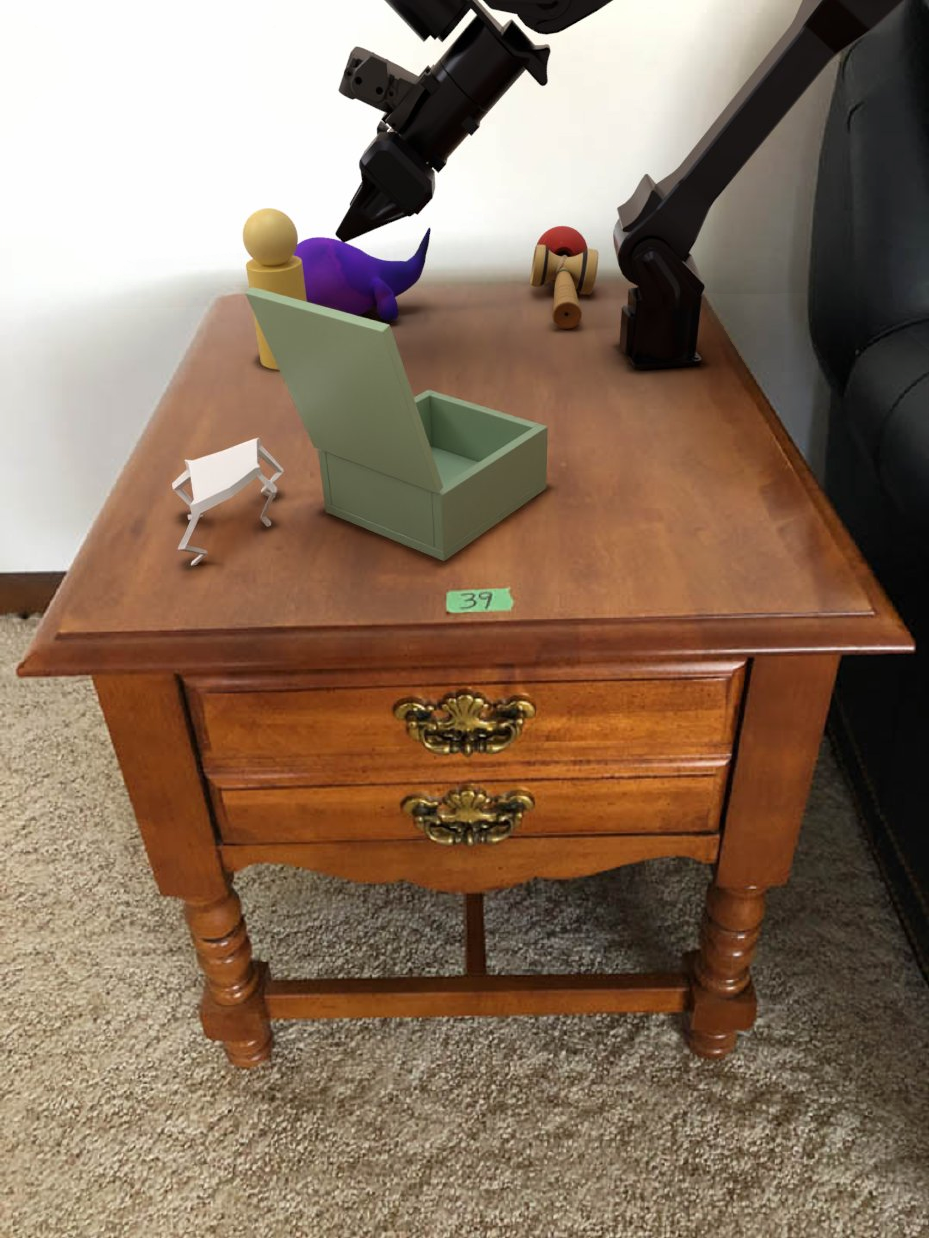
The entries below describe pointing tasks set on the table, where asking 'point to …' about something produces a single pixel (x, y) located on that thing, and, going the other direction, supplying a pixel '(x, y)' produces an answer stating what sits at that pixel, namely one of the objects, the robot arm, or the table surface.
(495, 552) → the table surface
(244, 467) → the white legged piece
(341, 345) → the chest lid
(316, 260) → the toy
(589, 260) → the kendama
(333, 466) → the chest
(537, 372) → the table surface
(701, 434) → the table surface
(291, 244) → the toy figure
